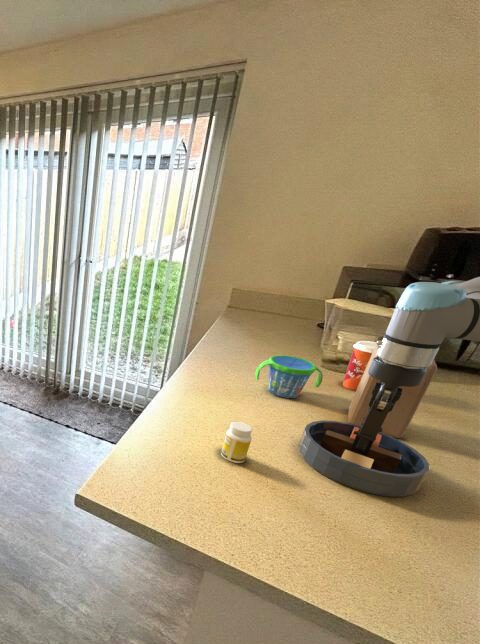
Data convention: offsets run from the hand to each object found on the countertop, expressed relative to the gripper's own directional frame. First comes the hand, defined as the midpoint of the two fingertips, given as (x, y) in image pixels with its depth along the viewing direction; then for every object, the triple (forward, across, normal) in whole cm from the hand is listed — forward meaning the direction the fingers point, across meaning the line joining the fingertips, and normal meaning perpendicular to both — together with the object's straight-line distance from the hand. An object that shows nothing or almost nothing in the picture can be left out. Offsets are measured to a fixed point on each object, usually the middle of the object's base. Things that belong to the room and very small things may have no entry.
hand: (355, 457), depth 87 cm
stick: (0, 0, 0) cm, 0 cm away
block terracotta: (+1, -5, 0) cm, 5 cm away
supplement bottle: (+2, +17, -19) cm, 25 cm away
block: (+2, -24, +1) cm, 24 cm away
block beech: (+1, +7, 0) cm, 7 cm away
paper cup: (+2, -47, -5) cm, 48 cm away
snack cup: (+2, -27, -19) cm, 33 cm away
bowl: (+2, +1, 0) cm, 2 cm away
